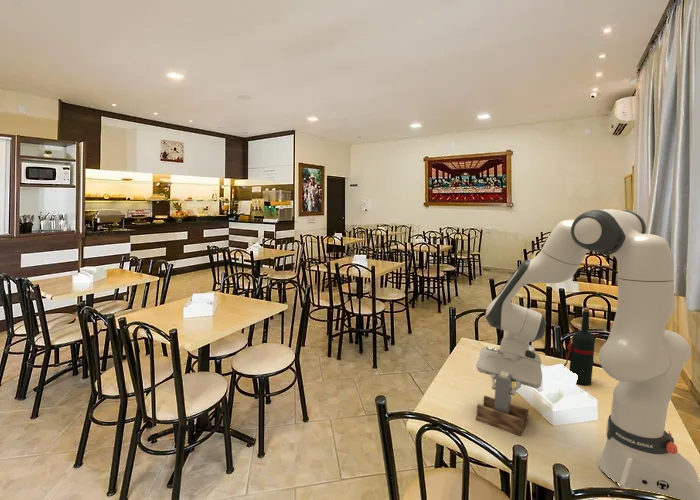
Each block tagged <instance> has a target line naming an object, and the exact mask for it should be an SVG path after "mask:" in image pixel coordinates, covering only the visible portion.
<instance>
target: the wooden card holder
mask: <svg viewBox="0 0 700 500" xmlns="http://www.w3.org/2000/svg"><path fill="white" fill-rule="evenodd" d="M494 404H495V397H494V398H493V397H490V396H487V395H484V396H483V404H479V403H478V404H477V405H476V416H475V419H474V420H475V421H478V422H481V423H484V424H487V425H489V426H492V427H494V428H497V429H500V430H502V431H506V432H509V433H511V434H513V435H517V436H519V437H522V434H523V433H524V431H525V428H526V426H527V424H528V423H529V409H527V408H524V407H522V406H519V405H516V404H512V403H511V405H510V411H509V413H508V414H506V413H503V412H500V411H498V410H495V409H494Z"/></svg>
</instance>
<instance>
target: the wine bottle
mask: <svg viewBox="0 0 700 500" xmlns="http://www.w3.org/2000/svg"><path fill="white" fill-rule="evenodd" d="M589 320H590V307H583V311H582V317H581V328H580V329H581V330H578V331H576V332H575V333H574V334H573V336H572V340H571V341H570V340H569V341H568V345H567V351H568V352H567V357H566V360H565V363H564V364H563V366H565V367H566V366H567V364H568V362H569V370H570V371H572V372H573V373H576V374H577V375H578V380H577V384H576V385H578V386H580V387H581V386H584V387H585V386H586V387H588V386H589V387H590V386H591V385H592V379H593V378H592V376H593V366H594V357H595V356H594V355H595V345H596V339H595V336H594V335H593V334H591V333H590V332H589V322H590V321H589ZM569 358H570V361H569ZM569 370H568V371H569Z"/></svg>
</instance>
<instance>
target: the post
mask: <svg viewBox="0 0 700 500" xmlns="http://www.w3.org/2000/svg"><path fill="white" fill-rule="evenodd" d="M509 374H510V373H508V372H504V371H501V372H500V373H499V374H498V375H497V376H496V380H495V383H496V388H495V390H494V391H495V392H494V399H495V404H494V409H495V410H498V411H500V412H503V413H506V414H508V413H509V411H510V405H511V404H512V395H511V394H509V391H510V388H513V382H512V375H509Z"/></svg>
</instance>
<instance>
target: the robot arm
mask: <svg viewBox="0 0 700 500" xmlns="http://www.w3.org/2000/svg"><path fill="white" fill-rule="evenodd" d="M588 251H591V252H594V253H598V254H601V255H604V256H611V255H613V257H615V259H616V262H617V305H616V310H615V311H616V312H615V316H614V320H613V323H612V326H611V329H610V332H609V335H608V338H607V340H606V342H605V343H603V345H602V346H601V347H600V350H599V352H598V360H599V364H600V366H601V368H602V369H603V371H604V372H605V373H606V374H607V375H608V376H609V377H610V378H612V379H614V380H616V381H618V383H617V384H616V385H615V387H614V389H613V393H612V401H611V409H610V414H609V416H608V419H607V423H606V433H605V434H606V442H605V445H604V448H603V451H602V453H601V455H600V457H599V458H598V461H597V465H598V468H599V469H600V471H601V470H602V471H603V472H604V473H605V474H606V475H607V476H609V477H610V478H612V479H613V480H614V481H615V482H617V483H619V484H620V486H618V487H619V489H621V488H630V489H638V490H644V491H650V492H655V493H660V494H664V495H668V496H672V497H675V498H679V499H682V500H700V480H699V476H698V474H697V470H696V469H695V468H694V466H693V464H692V463H691V462H690V461H689V460H688V459H687V458H685V457H684V456H683V455H682V454H681V453H680V452H679V451H678V446H677V445H676V444H675V439H674V437H673V436H672V433H671V431H666V429H665V428H666V422H667V421H666V420H667V415H668V409H669V403H670V401H671V398H672V395H673V393H674V390H675V389H676V386H677V383H678V381H679V378H680V375H681V373H682V371H683V368H684V367H685V366H686V364H687V363H688V361H690V360H689V359H690V357H691V355H692V351H691V347H690V345H689V342H688V341H687V340H686V339H685V338H684V336H682V335H680V334H679V333H678V332H675V331H673V330H669V329H666V328H667V325H668V323H669V320H670V319H671V317H672V316H673V315H674V312H675V311H674V310H675V269H674V268H675V267H674V261H673V259H674V258H673V255H672V250H671V247H670V243H669V242H668V240H667V239H666V238H664V237H662V236H660V235H657V234H653V233H647V225H646V222H645V219H643V218H642V216H640V215H639V214H637V213H636V212H634V211H632V210H626V209H616V208H603V209H592V210H588V211H585V212H583V213H582V214H579V215H578V216H577V217H576V218H575V219H564V220H561V221H560V222H558V223H557V224H556V226H555V227H554V228H553V230H552V231H551V233H550V234H549V235H548V236H547V239H546V241H545V242H544V244H543V246H542V248H541V250H540V251H539V252H538V254H537V255H536V256H534V257H533V258H531V259H526V260H524V261H522V262H521V264H520V265H519V266H518V267H517V268H516V269H515V271H514V272H513V273H512V274H511V276H510V277H509V279H508V280H507V281H506V283H505V284H504V285H503V287H502V288H501V289H500V292H498V294H497V295H496V296H495V297H494V299H493V300H492V301H491V302H489V304H488V306H487V308H486V311H485V315H484V316H485V317H484V318H485V319H486V321H487V323H488V325H490V327H493V328H495V329H498V330H502V331H504V336H503V338H502V339H501V341H500V344H499V348H495V347H494V348H493V347H489V346H486V347H481V349H480V353H479V356H478V359H477V362H476V364H475V367H476V369H477V371H478V372H479V373H482V374H485V375H489V376H490V377H491V381H492V386H491V389H492V390H494V391H495V388H496V376H497V375H498V374H499V373H500V372H501V371H504V372H508V373H510V374H509V375H512V383H513V382H514V383H515V386H514V387H512V388H510V391H509V394H511V396H516V392H517V391H518V390H519V389H520V388H521V387H522V385H523V386H527V387H530V388H533V389H540V388H541V387H542V383H543V371H542V367H541V366H542V359H541V357H540V355H539V353H538V354H537V353H536V352H535V353H534V352H532V351H530V350H529V345H530V342H531V343H533V342H536V341H538V340H541V339H542V338H543V337H544V335H545V331H546V326H547V321H546V317H545V316H544V315H543V314H542V313H540V312H538V311H536V310H534V309H531V308H528V307H524V306H522V305H519V304H516V303H513V302H512V300H513V299H514V297H515V296H517V294H518V293H519V291H520V290H521V289H522V288H523V287H524V286H526V285H528V284H529V285H530V284H560V283H562V282H565V281H568V280H570V279H571V278H572V277H573V276H574V275H575V274H576V272H577V271H578V269H579V268H580V265H581V264H582V263H583V260H584V258H585V256H586V254H587V253H588ZM602 471H601V472H602ZM603 472H602V473H603ZM604 473H603V474H604ZM605 474H604V475H605ZM606 475H605V476H606ZM607 476H606V477H607ZM615 482H614V483H615Z"/></svg>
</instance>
